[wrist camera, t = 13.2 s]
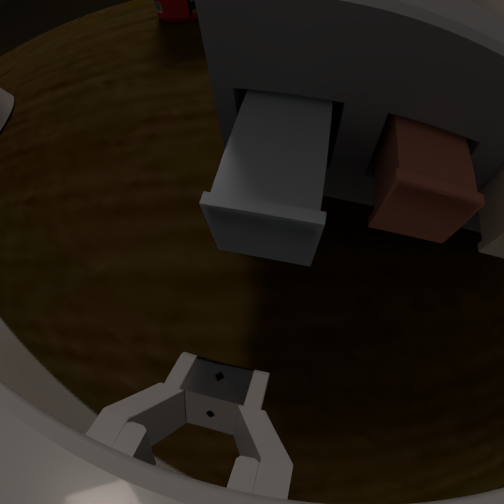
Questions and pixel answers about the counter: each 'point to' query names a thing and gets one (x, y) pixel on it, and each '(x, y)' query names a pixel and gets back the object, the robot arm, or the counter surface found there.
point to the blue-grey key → (272, 178)
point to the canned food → (176, 10)
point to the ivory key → (493, 215)
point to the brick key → (422, 181)
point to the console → (365, 73)
